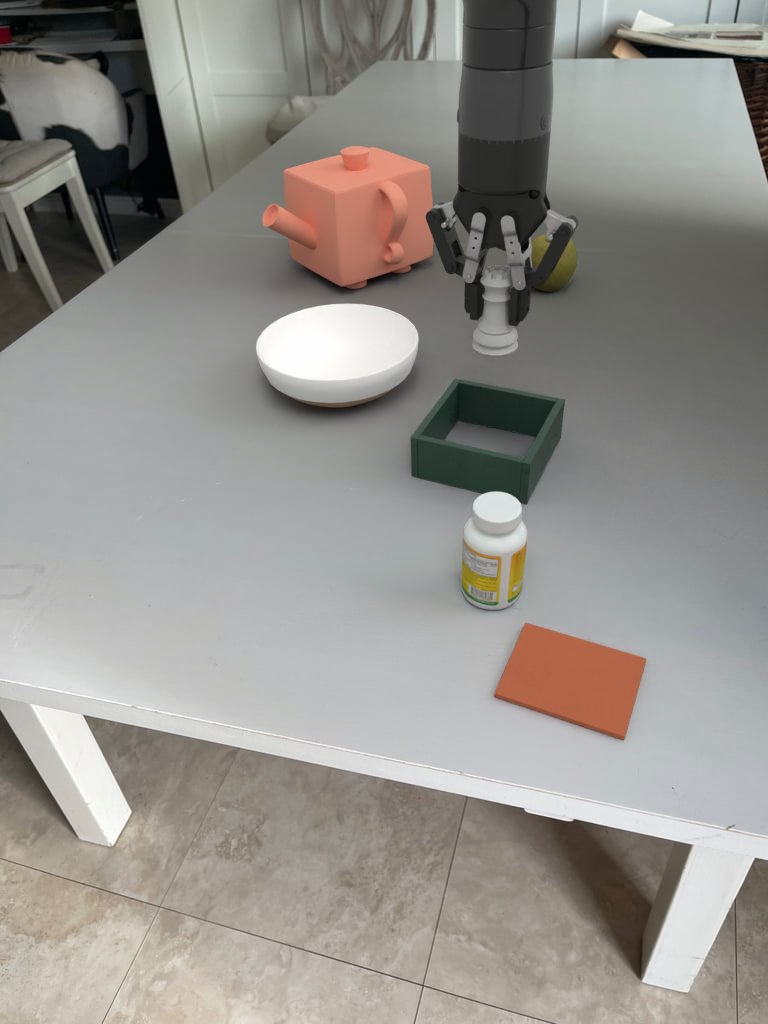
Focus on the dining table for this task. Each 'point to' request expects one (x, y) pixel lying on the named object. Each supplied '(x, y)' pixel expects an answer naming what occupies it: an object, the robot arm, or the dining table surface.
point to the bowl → (338, 353)
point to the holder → (481, 465)
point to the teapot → (356, 214)
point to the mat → (572, 680)
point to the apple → (563, 267)
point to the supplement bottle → (494, 551)
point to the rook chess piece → (495, 316)
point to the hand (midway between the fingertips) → (495, 318)
